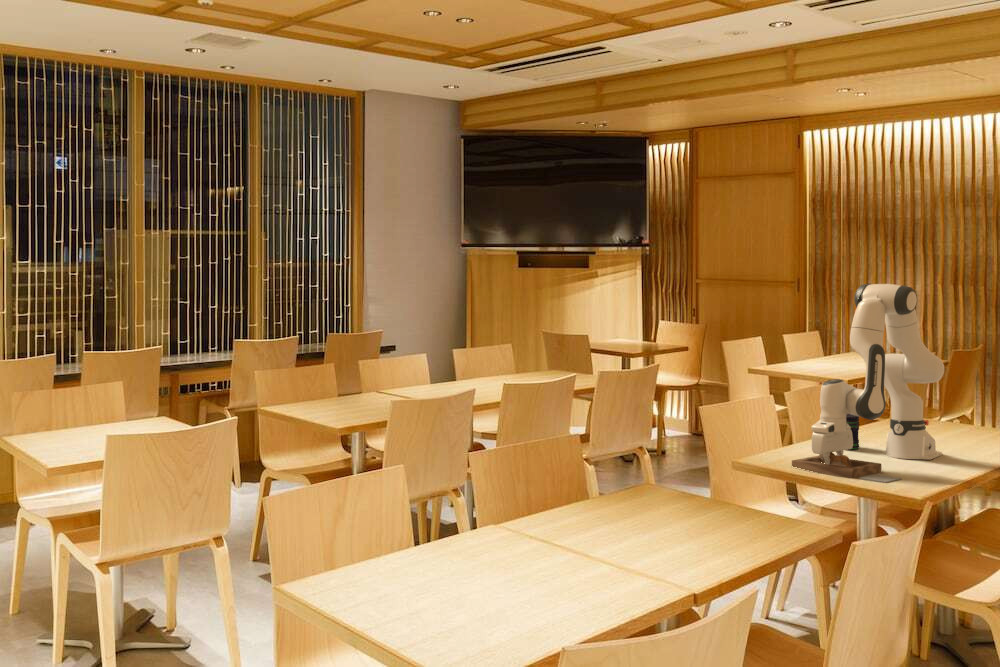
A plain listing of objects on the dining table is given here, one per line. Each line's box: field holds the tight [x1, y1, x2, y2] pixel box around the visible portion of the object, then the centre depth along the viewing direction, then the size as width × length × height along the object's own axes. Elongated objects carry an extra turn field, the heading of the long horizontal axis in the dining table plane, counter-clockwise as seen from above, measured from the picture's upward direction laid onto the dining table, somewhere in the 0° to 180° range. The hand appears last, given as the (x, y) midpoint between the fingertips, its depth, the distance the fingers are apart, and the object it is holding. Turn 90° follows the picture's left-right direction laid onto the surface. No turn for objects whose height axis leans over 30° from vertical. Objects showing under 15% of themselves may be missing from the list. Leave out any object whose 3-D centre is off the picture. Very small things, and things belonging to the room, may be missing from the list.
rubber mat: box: [857, 473, 903, 484], centre depth 322 cm, size 10×10×1 cm
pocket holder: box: [791, 455, 882, 479], centre depth 339 cm, size 18×24×3 cm
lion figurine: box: [818, 452, 852, 468], centre depth 339 cm, size 12×4×7 cm, turn 69°
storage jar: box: [846, 414, 860, 451], centre depth 376 cm, size 10×10×15 cm
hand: (832, 464), depth 340 cm, fingers closed on lion figurine, 4 cm apart
